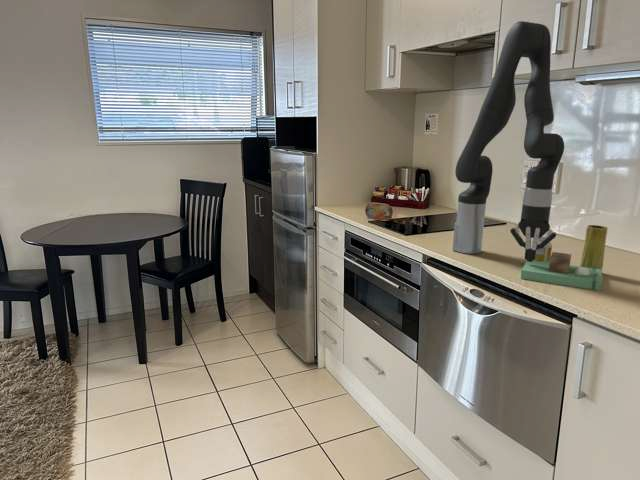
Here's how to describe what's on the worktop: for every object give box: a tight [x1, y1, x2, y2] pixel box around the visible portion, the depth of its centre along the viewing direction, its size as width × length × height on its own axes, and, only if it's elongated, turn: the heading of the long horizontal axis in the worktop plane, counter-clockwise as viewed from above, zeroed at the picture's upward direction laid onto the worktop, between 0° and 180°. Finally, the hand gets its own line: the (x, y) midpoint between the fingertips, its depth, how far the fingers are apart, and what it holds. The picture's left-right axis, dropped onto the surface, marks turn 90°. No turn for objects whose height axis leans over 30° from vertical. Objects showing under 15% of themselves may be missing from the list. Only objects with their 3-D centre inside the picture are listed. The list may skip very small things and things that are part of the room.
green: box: [520, 260, 603, 291], centre depth 137 cm, size 20×14×2 cm
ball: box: [574, 267, 590, 275], centre depth 134 cm, size 4×4×4 cm
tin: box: [365, 201, 394, 222], centre depth 220 cm, size 15×3×8 cm, turn 42°
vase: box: [580, 224, 608, 273], centre depth 141 cm, size 6×6×14 cm
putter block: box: [549, 251, 572, 274], centre depth 136 cm, size 5×8×4 cm, turn 150°
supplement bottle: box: [534, 233, 553, 262], centre depth 149 cm, size 5×5×10 cm
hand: (529, 261), depth 141 cm, fingers closed
